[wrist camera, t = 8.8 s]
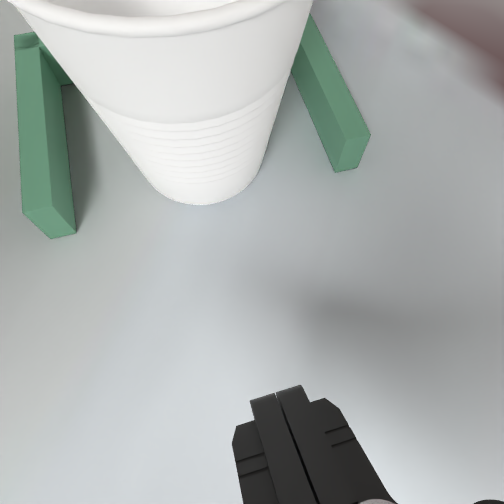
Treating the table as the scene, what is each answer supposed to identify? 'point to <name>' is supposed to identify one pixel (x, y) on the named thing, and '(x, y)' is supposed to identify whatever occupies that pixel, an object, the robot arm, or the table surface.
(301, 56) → the putting pocket
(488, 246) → the table surface
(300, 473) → the robot arm
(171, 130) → the cup
